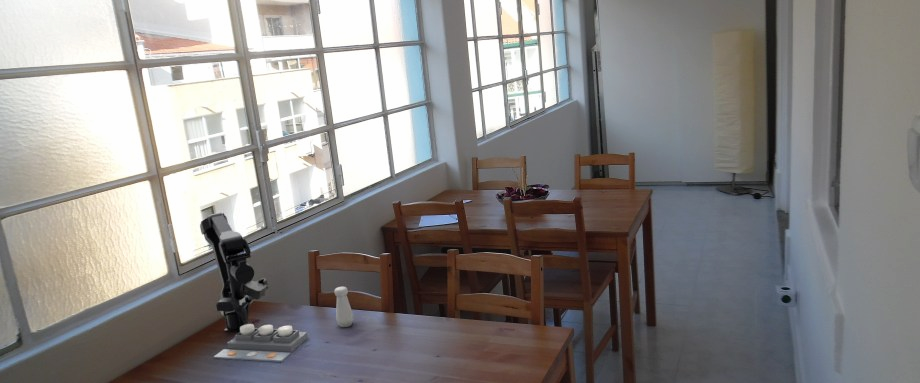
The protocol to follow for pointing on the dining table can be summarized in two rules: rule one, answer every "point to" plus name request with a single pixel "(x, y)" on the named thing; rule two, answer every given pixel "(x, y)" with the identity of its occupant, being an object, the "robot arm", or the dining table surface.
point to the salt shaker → (343, 308)
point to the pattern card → (252, 355)
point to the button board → (268, 341)
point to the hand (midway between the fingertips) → (245, 321)
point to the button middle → (266, 330)
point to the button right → (285, 331)
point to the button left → (247, 329)
